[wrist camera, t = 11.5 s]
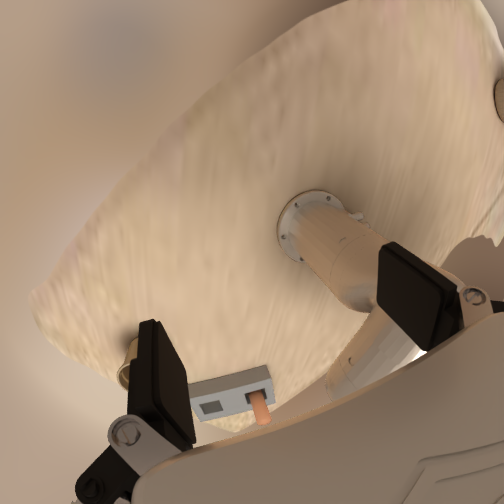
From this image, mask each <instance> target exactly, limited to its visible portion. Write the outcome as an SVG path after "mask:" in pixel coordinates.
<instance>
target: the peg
mask: <svg viewBox="0 0 504 504" xmlns="http://www.w3.org/2000/svg"><path fill="white" fill-rule="evenodd" d="M248 395H249V398H250V402H251V405H252V408H253V411H254V414H255V417H256V421H257V424H258V425H266V424H268V423H270V422H271V421H272V419H271V416H270V413H269V410H268V408H267V405H266V402H265V399H264V397H263V394H262V391H261V389H259V390H256V391H252V392H249V393H248Z"/></svg>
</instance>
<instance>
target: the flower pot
mask: <svg viewBox="0 0 504 504" xmlns="http://www.w3.org/2000/svg"><path fill="white" fill-rule="evenodd" d="M137 347H138V338H135V339H134V340H133V341H132V342H131V344H130V347H129V350H128V352H127V355H126V358H125V361H124V364H123V365H122V366H121V367H120V368H119V370H118V372H117V381H118V383H119V385H120V386H121V387H122V388H123V389H124V390H126V391H127V392H128V384H129V369H130V361H131V360H132V359H134V358H137Z"/></svg>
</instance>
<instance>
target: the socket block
mask: <svg viewBox="0 0 504 504" xmlns="http://www.w3.org/2000/svg"><path fill="white" fill-rule="evenodd" d="M259 389H261V391H262V394H263V397H264V399H265V402H266V405H271V404H274V403H276V401H275V396H274V390H273V385H272V380H271V376H270V374H269V371H268V369H267V366H266V365H264V366H260V367H257V368H253V369H250V370H246V371H242V372H239V373H235V374H231V375H227V376H223V377H219V378H215V379H211V380H206V381H202V382H197V383H193V384H188V390H189V397H190V404H191V407H192V409H193V410H194V412H195V414H196V415H197V417H198V419H199V420H200V422H203V421H208V420H212V419H217V418H221V417H226V416H230V415H234V414H238V413H242V412H246V411H250V410H253V408H252V405H251V402H250V398H249V395H248V393H249V392H252V391H256V390H259Z"/></svg>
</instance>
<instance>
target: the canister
mask: <svg viewBox="0 0 504 504" xmlns="http://www.w3.org/2000/svg"><path fill="white" fill-rule="evenodd" d="M495 102H496V108H497V111H498V114H499V116H500V118H501V119H502V121H503V122H504V79H501V80H500V81H498V83H497V85H496V88H495Z"/></svg>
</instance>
